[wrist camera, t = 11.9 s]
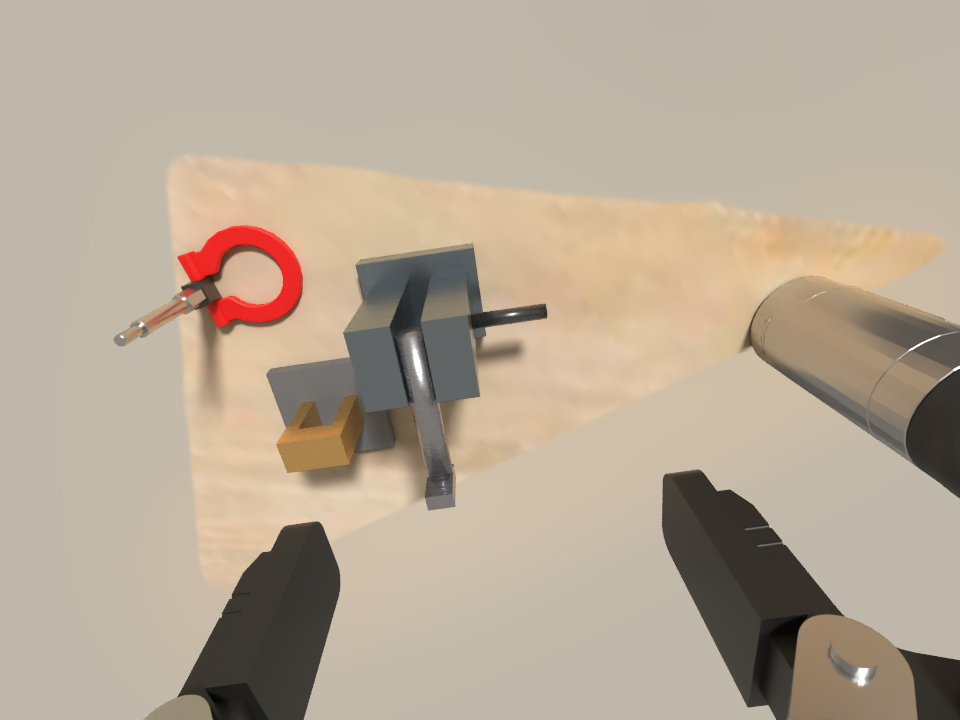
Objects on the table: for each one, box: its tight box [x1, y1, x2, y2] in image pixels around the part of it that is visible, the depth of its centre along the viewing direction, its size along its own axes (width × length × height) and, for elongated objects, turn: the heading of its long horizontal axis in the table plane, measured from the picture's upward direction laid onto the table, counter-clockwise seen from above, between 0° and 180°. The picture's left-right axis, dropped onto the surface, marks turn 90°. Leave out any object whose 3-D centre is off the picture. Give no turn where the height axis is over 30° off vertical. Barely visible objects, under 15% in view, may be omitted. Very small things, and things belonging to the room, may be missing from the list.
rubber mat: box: [266, 358, 395, 452], centre depth 46 cm, size 10×10×1 cm
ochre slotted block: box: [276, 395, 365, 473], centre depth 42 cm, size 5×3×7 cm, turn 98°
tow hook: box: [114, 225, 303, 346], centre depth 35 cm, size 8×13×9 cm
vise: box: [343, 243, 547, 510], centre depth 37 cm, size 15×16×14 cm
